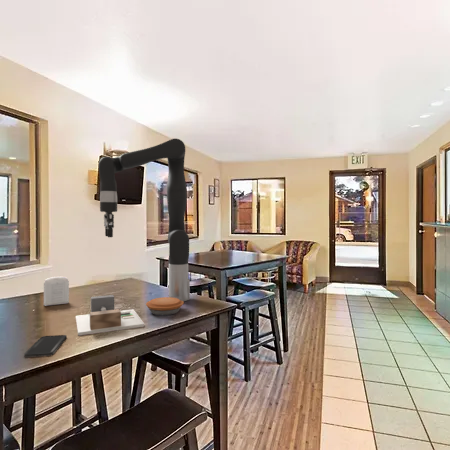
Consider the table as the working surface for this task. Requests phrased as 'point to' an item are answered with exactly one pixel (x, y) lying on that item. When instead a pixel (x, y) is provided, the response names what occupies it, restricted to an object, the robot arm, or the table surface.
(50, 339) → the phone
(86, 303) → the table surface
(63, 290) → the photo printer
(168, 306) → the pie
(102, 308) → the gauge carriage
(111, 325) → the brown wooden block
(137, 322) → the base
